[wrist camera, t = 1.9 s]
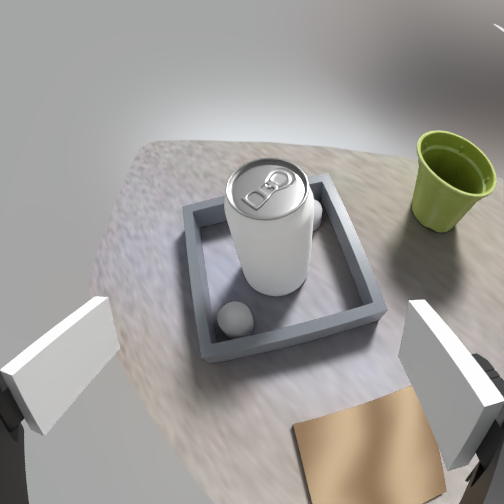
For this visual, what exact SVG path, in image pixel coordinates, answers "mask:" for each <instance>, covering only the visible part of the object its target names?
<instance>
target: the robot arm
mask: <svg viewBox="0 0 504 504" xmlns="http://www.w3.org/2000/svg"><path fill="white" fill-rule="evenodd" d="M119 349H120V345H119V342H118V338H117V334H116V330H115V326H114V322H113V317H112V313H111V309H110V304H109V299H108V297H97V296H95V297H94V298H93V299H91V300H90V301H88V302H87V303H86V304H84V305H83V306H82V307H80V308H79V309H78V310H77V311H75V312H73V313H72V314H71V315H69V316H68V317H67V318H66V319H64V320H63V321H62V322H60V323H59V324H58V325H56V326H55V327H54V328H52V329H51V330H50V331H48V332H47V333H46V334H44V335H43V336H42V337H41V338H39V339H38V340H37V341H35V342H34V343H33V344H32V345H30V346H29V347H28V348H27V349H25V350H24V351H23V352H22V353H20V354H19V355H18V356H17V357H15V358H14V359H13V360H12V361H10V362H9V363H8V364H7V365H6V366H4V367H3V368H2V369H1V370H0V504H29V501H28V493H27V484H26V472H25V456H24V429H23V426H22V424H21V421H22V420H23V419H24V418H25V420H26V422H27V423H28V425H29V427H30V428H31V430H33V431H35V432H37V433H39V434H41V435H43V436H45V435H46V434H47V433H48V431H49V430H50V429H51V427H53V425H54V424H55V423H56V422H57V420H58V419H59V418H60V417H61V416H62V415H63V413H64V412H65V411H66V410H67V409H68V408H69V406H70V405H71V404H72V403H73V402H74V400H75V399H76V398H77V397H78V396H79V394H80V393H81V392H82V391H83V390H84V389H85V388H86V387H87V385H88V384H89V383H90V382H91V381H92V380H93V378H94V377H95V376H96V375H97V374H98V373H99V372H100V370H101V369H102V368H103V367H104V366H105V365H106V364H107V362H108V361H109V360H110V359H111V358H112V357H113V356H114V355H115V353H116V352H117V351H118V350H119ZM398 357H399V359H400V361H401V363H402V365H403V367H404V369H405V371H406V373H407V376H408V378H409V380H410V382H411V384H412V386H413V388H414V391H415V393H416V395H417V397H418V400H419V402H420V404H421V406H422V409H423V411H424V413H425V415H426V418H427V420H428V423H429V425H430V427H431V430H432V432H433V435H434V437H435V439H436V442H437V444H438V447H439V450H440V452H441V455H442V457H443V460H444V463H445V465H446V468H447V471H449V470H452V469H456V468H459V467H462V466H465V465H468V464H469V462H470V461H471V459H472V458H473V456H474V455H475V453H476V454H477V456H478V458H479V462H478V464H477V465H476V466H475V468H474V469H473V471H472V472H471V473H470V475H469V476H468V477H467V479H466V480H465V481H467V482H468V481H469V480H470V481H469V483H468V486H467V488H466V490H465V492H464V495H463V497H462V499H461V501H460V503H459V504H504V380H503V379H502V378H500V375H499V374H498V373H497V372H496V371H494V368H493V367H492V365H491V364H490V363H489V362H488V360H486V359H485V358H483V357H482V356H480V355H478V354H477V353H476V354H470V352H469V351H468V350H467V349H466V348H465V346H464V345H463V344H462V343H461V341H460V340H459V339H458V338H457V337H456V335H455V334H454V333H453V332H452V331H451V329H450V328H449V327H448V326H447V325H446V323H445V322H444V321H443V320H442V319H441V318H440V317H439V315H438V314H437V313H436V312H435V311H434V310H433V309H432V307H431V306H430V305H429V304H428V303H427V302H426V301H425V300H409V301H408V307H407V313H406V319H405V325H404V330H403V335H402V340H401V345H400V350H399V355H398ZM470 478H471V479H470Z"/></svg>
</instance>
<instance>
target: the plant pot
mask: <svg viewBox="0 0 504 504" xmlns="http://www.w3.org/2000/svg"><path fill="white" fill-rule="evenodd" d="M417 154H418V157H419V170H418V175H417V180H416V185H415V190H414V194H413V199H412V210H413V213H414V215H415V217H416V218H417V220H418V221H419V222H420V223H421V224H422V225H423V226H425V227H429V228H431V229H433V230H434V231H436V232H447V231H449V230H451V229H452V228H453V227H454V226H455V225H456V224H457V223H458V222H459V220H460V219H461V218H462V217H463V216H464V215H465V214H466V213H467V212H468V211H469V210H470V208H471V207H472V206H473V205H474V204H475V203H476V202H477V201H479V200H481V199H482V198H484V197H486V196H488V195H490V194H491V193H492V192H493V190H494V189H495V186H496V174H495V171H494V168H493V166H492V164H491V162H490V161H489V159H488V158H487V157H486V156H485V154H484V153H483V152H482V151H481V150H480V149H479V148H477V147H476V146H475V145H474V144H473V143H471V142H470V141H468V140H466V139H464V138H463V137H461V136H458V135H456V134H454V133H450V132H446V131H430V132H427V133H425V134H424V135H422V136H421V137H420V139H419V141H418V144H417Z"/></svg>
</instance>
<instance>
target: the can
mask: <svg viewBox="0 0 504 504" xmlns="http://www.w3.org/2000/svg"><path fill="white" fill-rule="evenodd" d="M224 209H225V214H226V218H227V222H228V225H229V229H230V232H231V235H232V238H233V241H234V245H235V248H236V251H237V254H238V257H239V260H240V263H241V266H242V269H243V272H244V275H245V278H246V280H247V281H248V283H249V284H250V285H251V286H252V287H253V288H254V289H255V290H256V291H258V292H260V293H262V294H265V295H269V296H282V295H286V294H289V293H291V292H293V291H295V290H296V289H297V288H299V287H300V286H301V285H302V284H303V282H304V281H305V279H306V277H307V274H308V271H309V263H310V254H311V243H312V232H313V219H314V197H313V193H312V190H311V188H310V186H309V182H308V179H307V176H306V175H305V173H304V172H303V170H302V169H301V168H299V167H298V166H297V165H295V164H294V163H292V162H290V161H287V160H284V159H280V158H260V159H256V160H252V161H250V162H247V163H245V164H243V165H242V166H240V167H239V168H238V169H236V170H235V171H234V172H233V174H232V175H231V176H230V178H229V180H228V182H227V185H226V197H225V202H224Z"/></svg>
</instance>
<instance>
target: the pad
mask: <svg viewBox="0 0 504 504" xmlns="http://www.w3.org/2000/svg"><path fill="white" fill-rule="evenodd" d="M293 426H294V430H295V434H296V438H297V442H298V446H299V451H300V455H301V459H302V463H303V467H304V471H305V476H306V480H307V484H308V488H309V492H310V496H311V500H312V504H423V503H425V502H427V501H429V500H431V499H433V498H435V497H437V496H438V495H440V494H442V493H444V492H446V485H445V479H444V473H443V468H442V463H441V457H440V453H439V448H438V444H437V442H436V439H435V437H434V435H433V432H432V430H431V427H430V425H429V423H428V420H427V418H426V415H425V413H424V411H423V409H422V406H421V404H420V402H419V400H418V397H417V395H416V393H415V391H414V388H413V386H412V385H411V386H409V387H406V388H404V389H402V390H399V391H397V392H394V393H392V394H389V395H386V396H384V397H381V398H378V399H376V400H373V401H370V402H367V403H364V404H361V405H358V406H355V407H352V408H349V409H346V410H343V411H340V412H337V413H333V414H330V415H326V416H323V417H319V418H316V419H312V420H308V421H304V422H300V423H296V424H293Z"/></svg>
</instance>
